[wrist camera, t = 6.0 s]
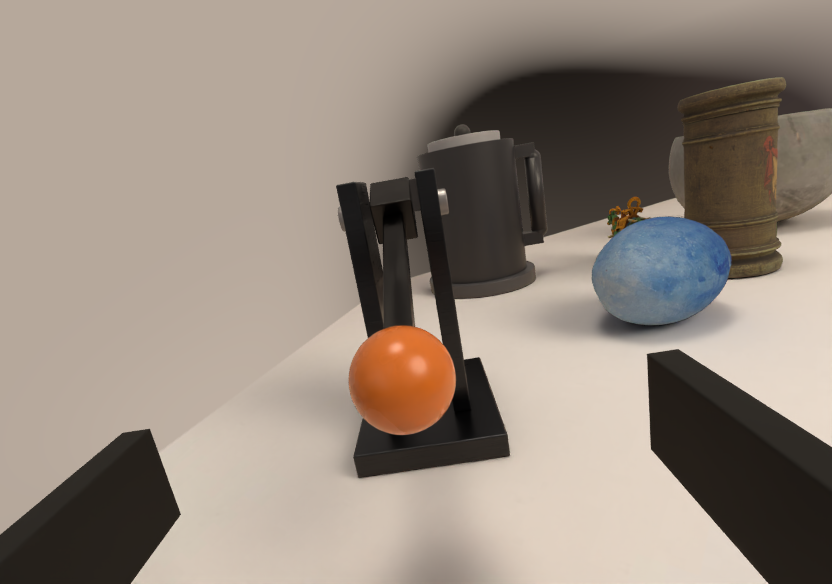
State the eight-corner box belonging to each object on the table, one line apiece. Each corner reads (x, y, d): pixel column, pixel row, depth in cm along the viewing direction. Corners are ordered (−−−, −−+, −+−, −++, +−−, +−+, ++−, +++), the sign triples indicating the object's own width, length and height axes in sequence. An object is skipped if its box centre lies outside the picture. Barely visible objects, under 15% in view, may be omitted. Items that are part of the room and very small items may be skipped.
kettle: (425, 306, 51) (394, 129, 46) (423, 281, 65) (400, 141, 60) (569, 283, 50) (553, 100, 45) (537, 262, 64) (522, 119, 59)
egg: (743, 177, 35) (632, 216, 29) (794, 271, 34) (692, 334, 28) (652, 221, 43) (549, 260, 36) (692, 299, 42) (593, 354, 35)
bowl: (892, 219, 53) (905, 91, 49) (717, 245, 56) (718, 125, 52) (772, 208, 73) (776, 116, 69) (647, 227, 75) (644, 139, 72)
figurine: (620, 251, 61) (617, 194, 59) (678, 265, 50) (676, 195, 48) (600, 255, 61) (596, 198, 59) (653, 269, 50) (650, 199, 48)
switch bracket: (510, 456, 22) (470, 159, 18) (357, 478, 22) (290, 191, 19) (482, 372, 31) (452, 168, 28) (376, 389, 32) (334, 189, 28)
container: (713, 284, 41) (712, 87, 37) (662, 266, 50) (657, 105, 46) (808, 269, 41) (818, 67, 37) (740, 254, 50) (742, 90, 45)
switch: (467, 447, 14) (457, 378, 12) (360, 463, 14) (330, 398, 12) (427, 220, 26) (418, 164, 24) (369, 230, 26) (355, 175, 24)
